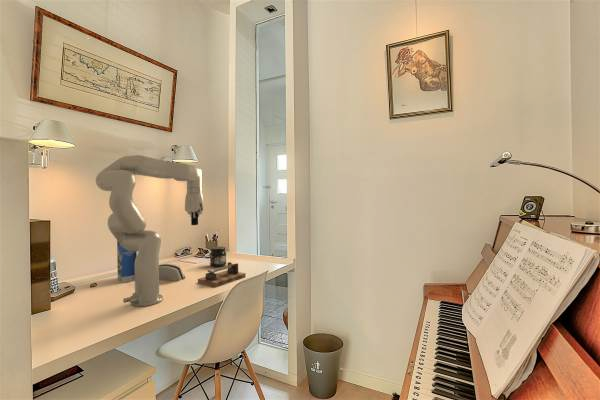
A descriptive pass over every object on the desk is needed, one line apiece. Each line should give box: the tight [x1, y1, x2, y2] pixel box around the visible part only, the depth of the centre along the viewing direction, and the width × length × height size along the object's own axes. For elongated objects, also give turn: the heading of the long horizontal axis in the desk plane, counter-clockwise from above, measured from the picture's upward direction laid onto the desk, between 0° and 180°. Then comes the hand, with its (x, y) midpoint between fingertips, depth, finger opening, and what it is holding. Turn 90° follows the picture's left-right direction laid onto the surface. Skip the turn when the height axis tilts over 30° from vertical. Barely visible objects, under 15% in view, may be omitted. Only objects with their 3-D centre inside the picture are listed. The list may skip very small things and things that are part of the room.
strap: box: [207, 263, 235, 273], centre depth 163 cm, size 17×4×2 cm, turn 147°
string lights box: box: [116, 240, 138, 284], centre depth 165 cm, size 13×8×26 cm, turn 42°
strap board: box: [197, 261, 246, 288], centre depth 163 cm, size 22×14×8 cm, turn 147°
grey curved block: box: [159, 263, 187, 281], centre depth 165 cm, size 17×5×10 cm, turn 78°
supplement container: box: [209, 246, 227, 268], centre depth 196 cm, size 10×10×12 cm
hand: (194, 224), depth 158 cm, fingers closed
